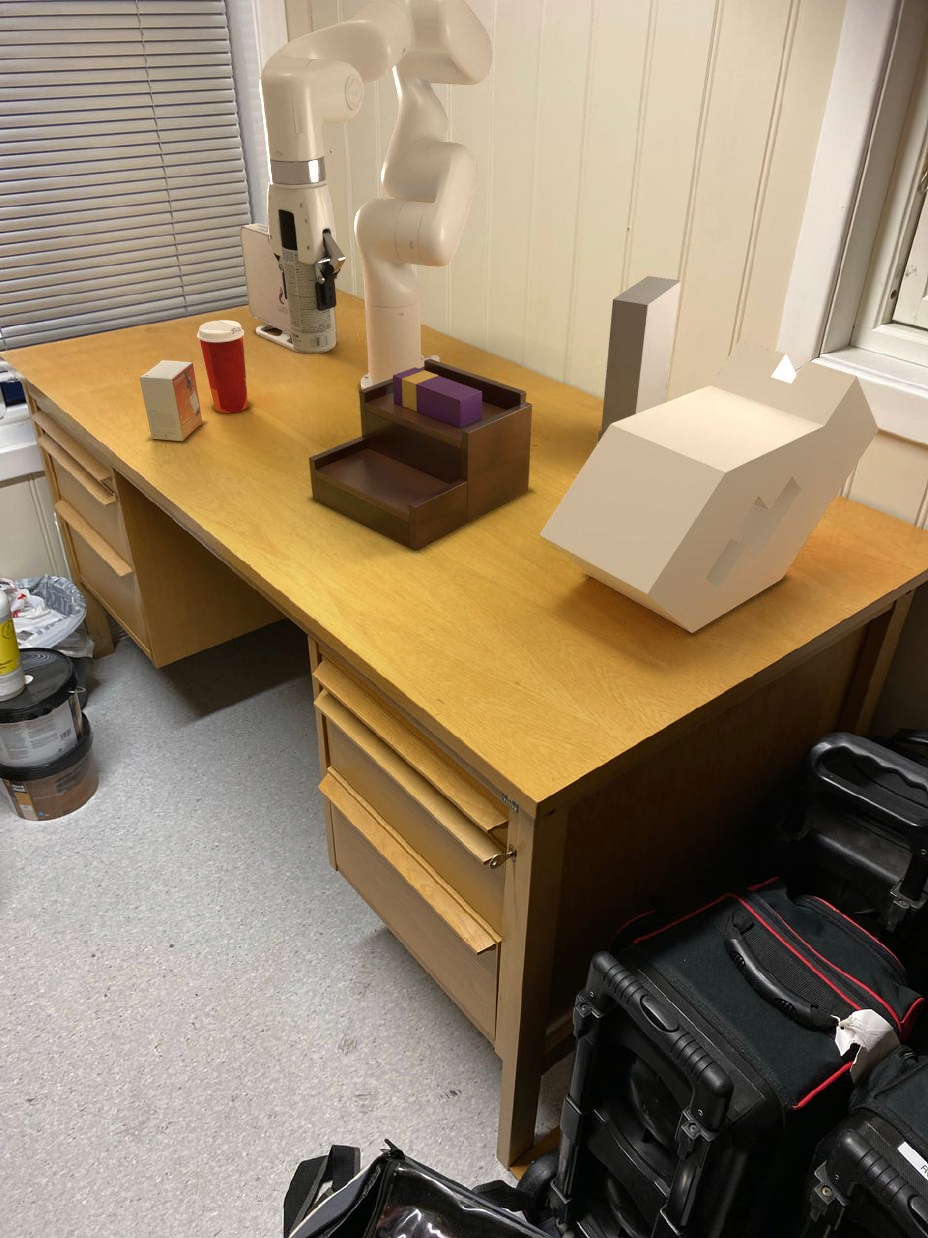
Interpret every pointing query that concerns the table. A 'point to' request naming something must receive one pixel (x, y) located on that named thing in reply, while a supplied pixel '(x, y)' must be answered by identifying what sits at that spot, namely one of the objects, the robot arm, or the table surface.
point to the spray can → (304, 296)
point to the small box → (171, 400)
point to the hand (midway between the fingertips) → (310, 301)
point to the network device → (265, 284)
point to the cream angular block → (715, 485)
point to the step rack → (427, 462)
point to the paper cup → (225, 364)
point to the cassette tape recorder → (639, 348)
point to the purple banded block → (437, 397)
